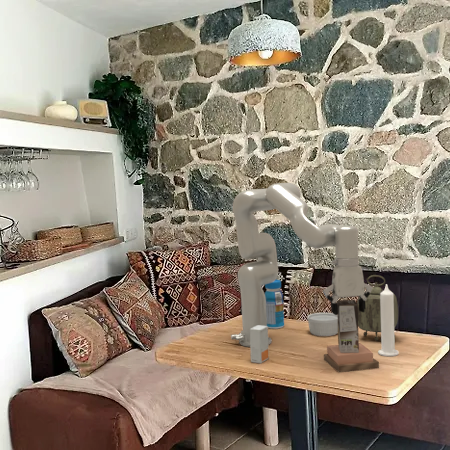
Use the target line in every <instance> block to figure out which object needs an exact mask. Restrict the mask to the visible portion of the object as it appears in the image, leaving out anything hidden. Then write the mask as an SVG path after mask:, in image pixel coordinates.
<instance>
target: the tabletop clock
mask: <svg viewBox="0 0 450 450" xmlns="http://www.w3.org/2000/svg"><path fill="white" fill-rule="evenodd" d="M370 278H380V279H382V280H383V283H379V284H378V282H374V283H371V282H370V281H369V279H370ZM366 281H367V284H368V285H370V286H372V290H371V292H370V295H369V296H368V297H367V300H366V301H365V312H361V311H359V299H360V297H359V296H358V298H357V300H356V303H357V304H358V329H360V330H362V331H364V332H363V333H362V335H363V336H364V337H367V336H368V332H371V333H375V336H374V337H373V340H374V341H376V342H377V341H379V337H378V334H379V333H381V306H380V293H381V292H383V291H384V290H383V288H382V286H384V285H386V284H385V283H386V278H385V277H383V276H382V275H379V274H373V275H372V274H371V275H370V276H368V277H367V278H366ZM393 298H394V329H395V328H396V326H397V324H398V321H399V305H398V304H399V303H398V300H397V299H398V298H397V296H396V295H395V294H394V293H393ZM395 337H396V335H395V334H394V338H395Z"/></svg>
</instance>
